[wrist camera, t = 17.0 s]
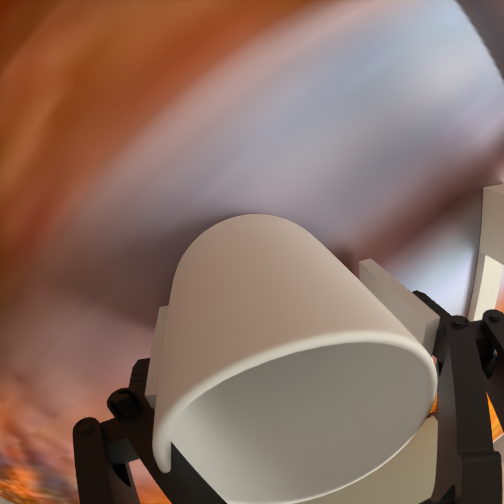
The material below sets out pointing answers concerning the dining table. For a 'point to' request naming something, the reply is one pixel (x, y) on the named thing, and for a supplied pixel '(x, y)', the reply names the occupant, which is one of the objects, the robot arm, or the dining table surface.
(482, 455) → the robot arm
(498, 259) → the wall frame
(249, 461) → the mug
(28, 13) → the dining table surface
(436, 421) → the door
